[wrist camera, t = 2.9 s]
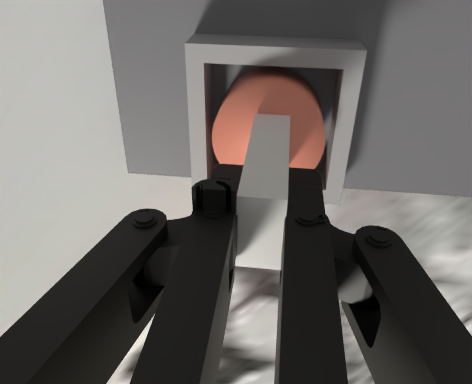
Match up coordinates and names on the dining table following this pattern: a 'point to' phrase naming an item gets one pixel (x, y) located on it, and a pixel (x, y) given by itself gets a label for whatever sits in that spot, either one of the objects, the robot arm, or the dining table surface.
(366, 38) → the switch panel
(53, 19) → the dining table surface
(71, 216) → the dining table surface
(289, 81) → the push button
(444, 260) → the dining table surface
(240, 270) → the dining table surface
